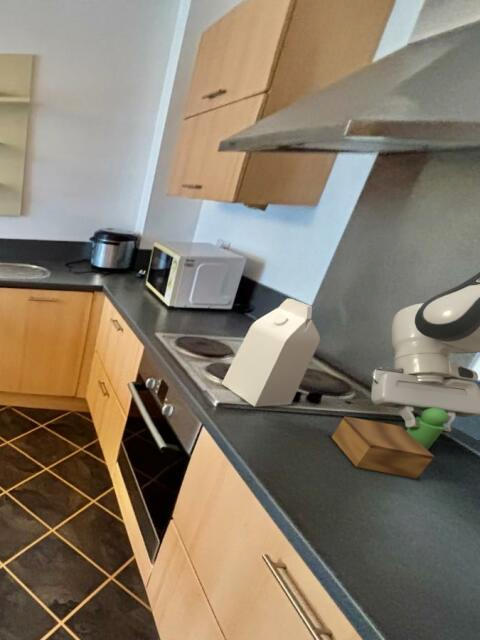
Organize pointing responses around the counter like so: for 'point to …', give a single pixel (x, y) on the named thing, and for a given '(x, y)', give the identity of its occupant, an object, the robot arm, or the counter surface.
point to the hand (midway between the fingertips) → (428, 429)
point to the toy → (429, 426)
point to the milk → (274, 356)
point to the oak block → (381, 447)
